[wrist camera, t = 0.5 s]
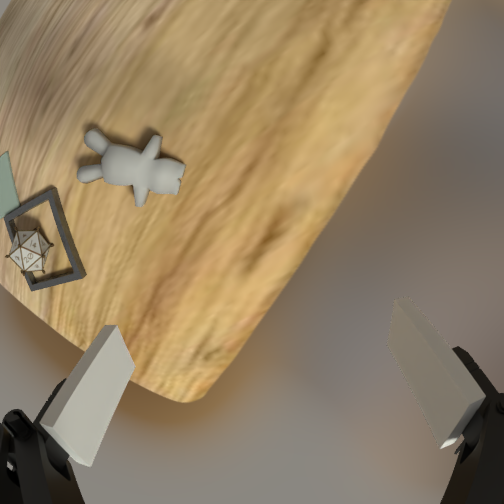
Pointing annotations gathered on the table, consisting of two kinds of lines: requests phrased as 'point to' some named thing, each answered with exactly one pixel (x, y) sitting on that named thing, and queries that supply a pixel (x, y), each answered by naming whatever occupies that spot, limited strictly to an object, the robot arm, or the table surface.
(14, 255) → the game die
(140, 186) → the grey teddy bear
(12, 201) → the pad
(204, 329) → the table surface
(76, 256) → the socket frame
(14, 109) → the table surface
